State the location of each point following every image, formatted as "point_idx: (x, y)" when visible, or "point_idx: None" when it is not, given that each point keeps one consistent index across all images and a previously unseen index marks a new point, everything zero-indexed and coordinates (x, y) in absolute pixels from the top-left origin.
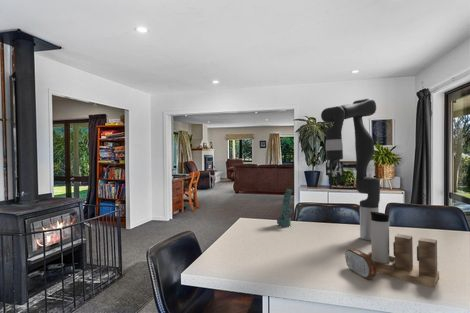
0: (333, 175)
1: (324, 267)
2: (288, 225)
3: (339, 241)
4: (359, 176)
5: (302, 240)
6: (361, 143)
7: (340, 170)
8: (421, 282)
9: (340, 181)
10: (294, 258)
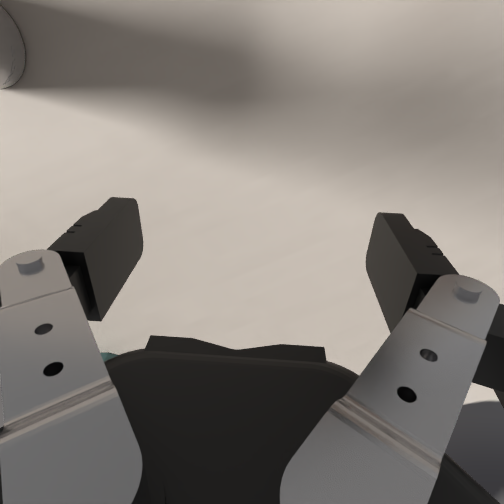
0: (473, 283)
1: (500, 60)
2: (110, 358)
3: (137, 142)
4: None
5: (228, 257)
6: None
7: (81, 312)
8: None
9: (127, 213)
10: (446, 193)
